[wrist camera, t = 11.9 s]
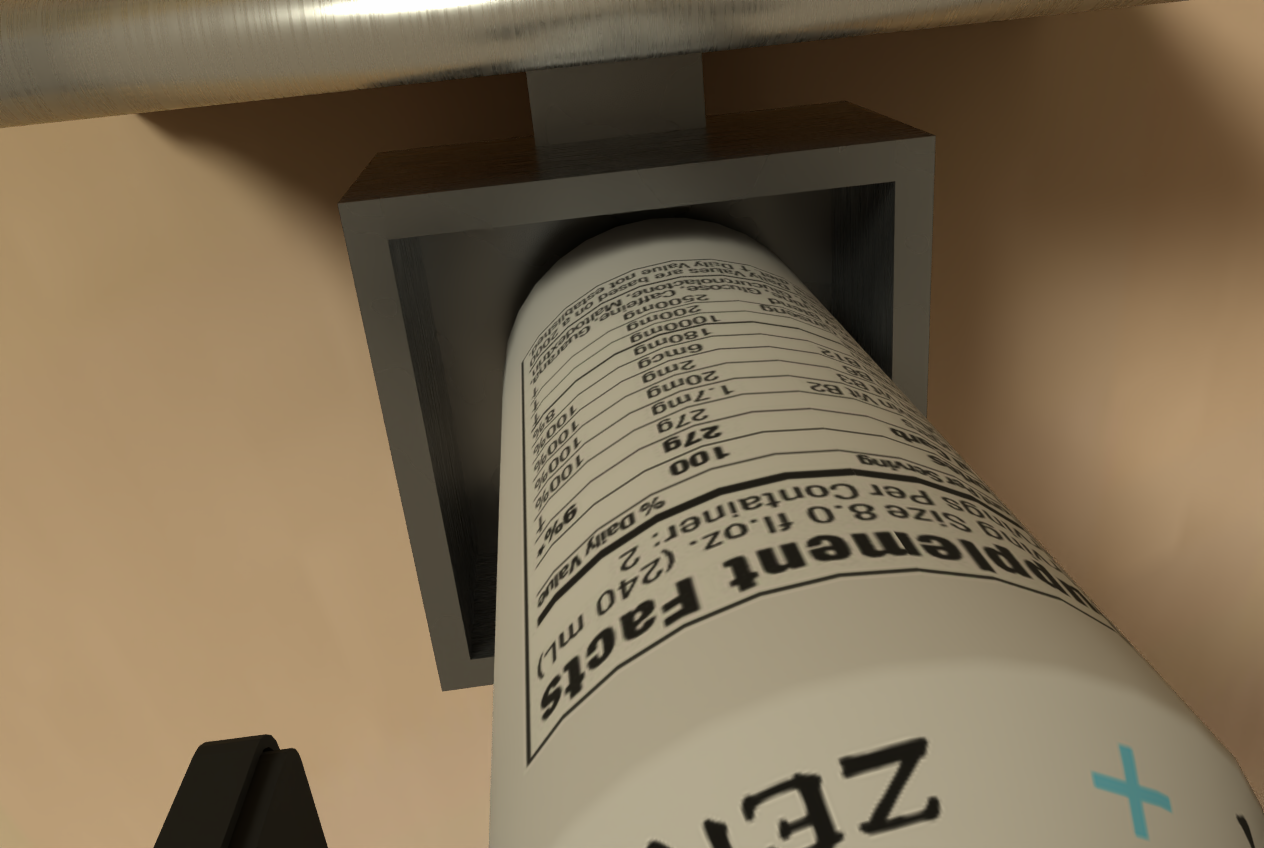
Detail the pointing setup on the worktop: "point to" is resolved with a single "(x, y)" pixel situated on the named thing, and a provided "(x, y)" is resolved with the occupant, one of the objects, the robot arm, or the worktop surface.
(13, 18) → the cup bracket
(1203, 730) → the energy drink can
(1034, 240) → the worktop surface
